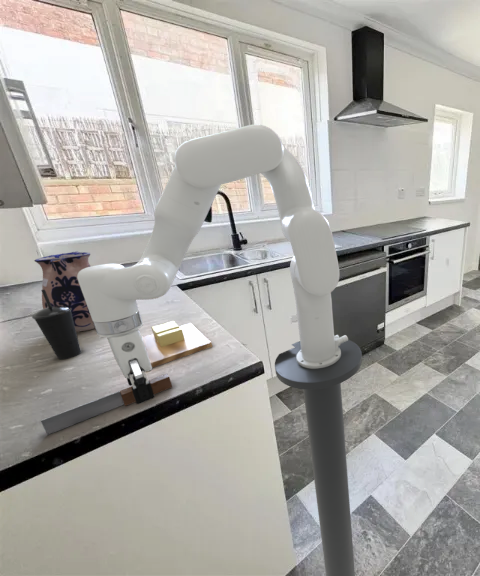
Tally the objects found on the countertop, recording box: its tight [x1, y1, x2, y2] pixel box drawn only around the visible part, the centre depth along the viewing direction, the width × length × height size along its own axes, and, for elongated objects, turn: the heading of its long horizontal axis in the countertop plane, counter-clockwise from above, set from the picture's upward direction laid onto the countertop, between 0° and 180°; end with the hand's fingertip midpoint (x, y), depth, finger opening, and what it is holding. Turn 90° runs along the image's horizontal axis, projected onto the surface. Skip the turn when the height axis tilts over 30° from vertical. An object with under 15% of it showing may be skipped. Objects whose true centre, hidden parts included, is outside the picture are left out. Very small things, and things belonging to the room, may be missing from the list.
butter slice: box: [157, 328, 185, 347], centre depth 91 cm, size 6×2×4 cm, turn 136°
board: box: [142, 322, 213, 369], centre depth 93 cm, size 16×20×2 cm
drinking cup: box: [31, 289, 82, 360], centre depth 86 cm, size 8×8×20 cm
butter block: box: [151, 320, 180, 343], centre depth 95 cm, size 6×6×4 cm
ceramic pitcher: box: [33, 250, 95, 333], centre depth 104 cm, size 18×21×25 cm
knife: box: [40, 372, 173, 436], centre depth 67 cm, size 21×2×4 cm, turn 136°
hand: (141, 391), depth 71 cm, fingers open, 8 cm apart
